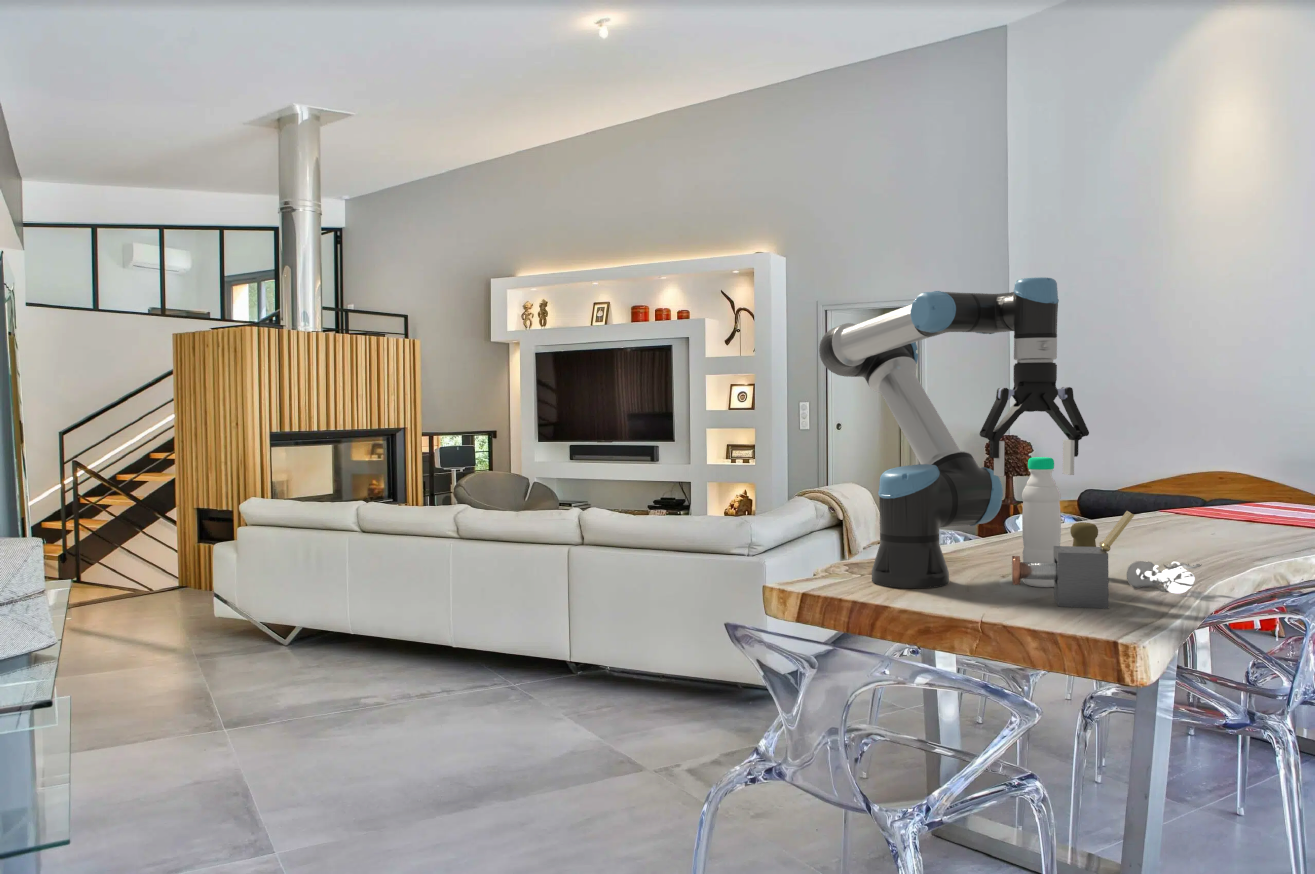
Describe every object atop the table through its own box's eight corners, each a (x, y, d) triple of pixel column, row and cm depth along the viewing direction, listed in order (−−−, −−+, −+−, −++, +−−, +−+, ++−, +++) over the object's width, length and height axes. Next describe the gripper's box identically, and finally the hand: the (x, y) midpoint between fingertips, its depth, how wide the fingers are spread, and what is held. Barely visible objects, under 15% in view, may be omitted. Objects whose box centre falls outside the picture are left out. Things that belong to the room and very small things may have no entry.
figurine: (1150, 560, 187) (1206, 558, 177) (1154, 593, 186) (1210, 592, 176) (1116, 561, 184) (1171, 558, 173) (1119, 594, 183) (1175, 594, 172)
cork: (1104, 579, 192) (1103, 524, 191) (1072, 578, 193) (1071, 524, 193) (1096, 573, 198) (1096, 521, 197) (1065, 573, 199) (1065, 520, 199)
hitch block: (1058, 606, 167) (1058, 552, 167) (1054, 597, 175) (1053, 545, 175) (1108, 608, 165) (1108, 553, 165) (1101, 599, 172) (1101, 546, 172)
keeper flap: (1107, 552, 166) (1101, 548, 166) (1103, 549, 170) (1097, 545, 171) (1136, 516, 165) (1129, 512, 165) (1131, 513, 169) (1125, 509, 169)
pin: (1013, 587, 171) (1013, 558, 170) (1011, 581, 176) (1011, 553, 175) (1094, 589, 167) (1093, 560, 167) (1090, 584, 172) (1089, 555, 171)
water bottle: (1044, 589, 183) (1042, 458, 182) (1014, 583, 189) (1013, 457, 188) (1069, 585, 186) (1068, 457, 185) (1039, 580, 192) (1038, 456, 192)
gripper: (979, 361, 173) (978, 478, 174) (1110, 360, 176) (1108, 475, 177) (962, 362, 181) (961, 474, 182) (1087, 361, 183) (1086, 472, 184)
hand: (1033, 475), depth 179 cm, fingers open, 13 cm apart
